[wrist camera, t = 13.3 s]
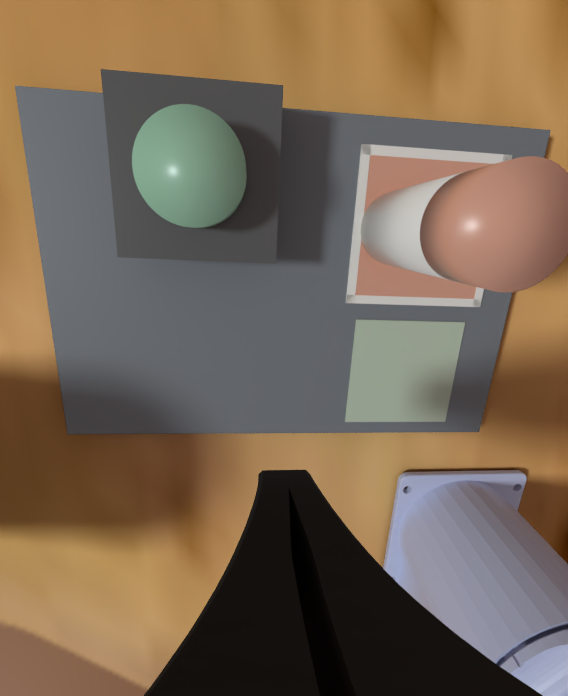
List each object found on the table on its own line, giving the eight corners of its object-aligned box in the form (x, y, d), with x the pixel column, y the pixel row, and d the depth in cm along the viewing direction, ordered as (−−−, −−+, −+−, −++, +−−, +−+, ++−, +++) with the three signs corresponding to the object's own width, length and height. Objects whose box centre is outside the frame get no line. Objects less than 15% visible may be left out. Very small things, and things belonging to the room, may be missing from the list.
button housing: (272, 259, 17) (276, 263, 14) (136, 253, 16) (117, 257, 14) (278, 107, 15) (283, 85, 13) (124, 94, 14) (101, 69, 12)
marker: (422, 266, 17) (558, 295, 10) (356, 262, 17) (445, 289, 9) (434, 193, 16) (597, 162, 9) (365, 188, 16) (471, 150, 8)
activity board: (470, 424, 21) (480, 433, 20) (74, 426, 19) (66, 435, 18) (536, 134, 17) (552, 129, 16) (27, 93, 15) (13, 84, 14)
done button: (246, 230, 14) (245, 230, 12) (147, 225, 13) (136, 224, 12) (247, 121, 13) (247, 108, 11) (140, 112, 12) (127, 99, 11)
